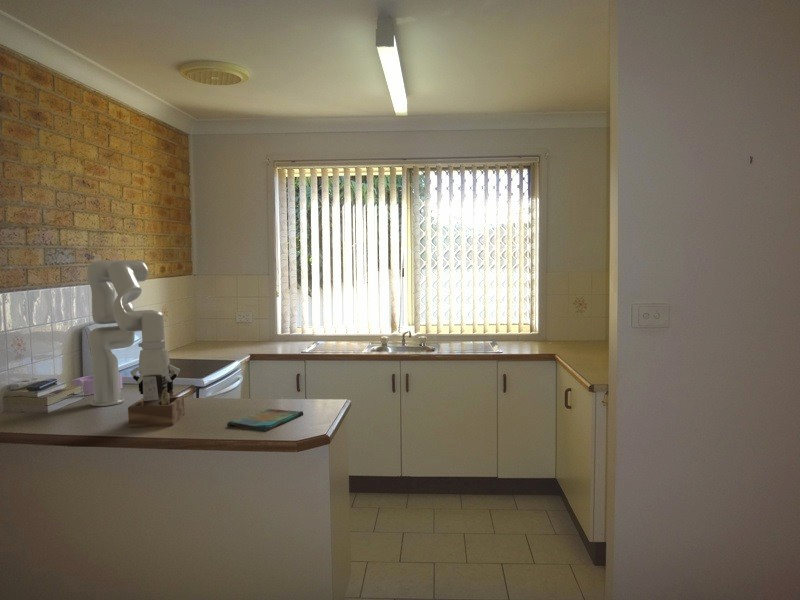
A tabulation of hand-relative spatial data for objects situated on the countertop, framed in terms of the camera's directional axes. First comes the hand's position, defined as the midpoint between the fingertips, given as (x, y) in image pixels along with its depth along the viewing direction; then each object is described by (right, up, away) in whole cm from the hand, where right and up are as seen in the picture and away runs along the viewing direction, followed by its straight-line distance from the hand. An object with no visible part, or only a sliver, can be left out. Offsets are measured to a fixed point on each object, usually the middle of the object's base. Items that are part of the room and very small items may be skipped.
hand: (156, 392), depth 223 cm
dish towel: (+41, -10, -4) cm, 42 cm away
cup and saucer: (-5, -9, +22) cm, 24 cm away
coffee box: (0, -9, +1) cm, 9 cm away
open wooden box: (0, -10, +1) cm, 10 cm away
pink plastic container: (-49, -8, +58) cm, 77 cm away
